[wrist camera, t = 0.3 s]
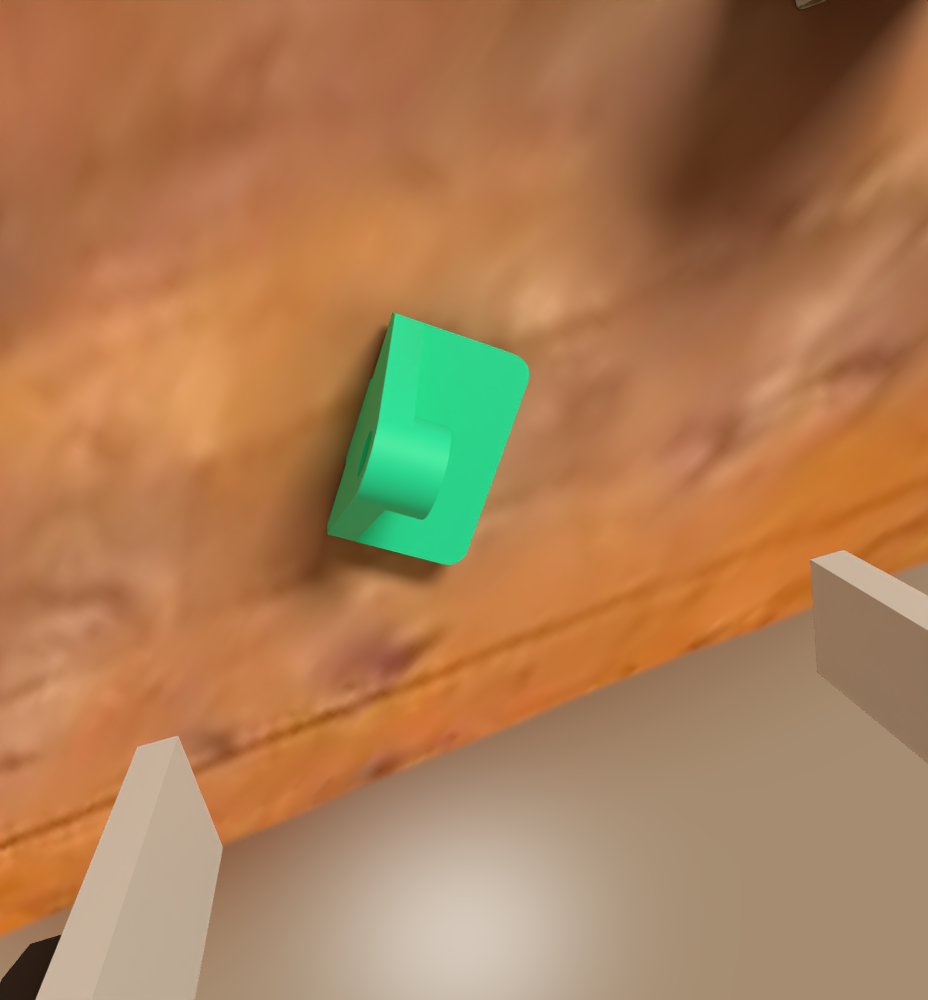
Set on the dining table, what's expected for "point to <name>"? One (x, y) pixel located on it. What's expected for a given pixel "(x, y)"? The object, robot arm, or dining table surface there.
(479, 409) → the camera mount
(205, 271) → the dining table surface
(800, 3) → the coffee box
